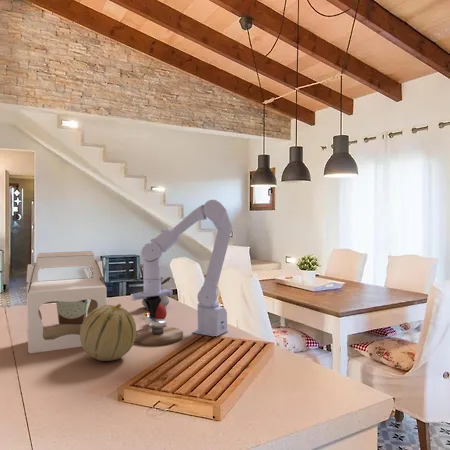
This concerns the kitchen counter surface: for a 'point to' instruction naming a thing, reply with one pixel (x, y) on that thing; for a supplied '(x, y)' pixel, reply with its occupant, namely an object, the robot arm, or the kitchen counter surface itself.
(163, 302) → the coffee pot
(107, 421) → the kitchen counter surface
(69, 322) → the food container
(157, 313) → the onion
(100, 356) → the cantaloupe
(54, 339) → the gable box
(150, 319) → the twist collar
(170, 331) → the base
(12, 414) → the kitchen counter surface
